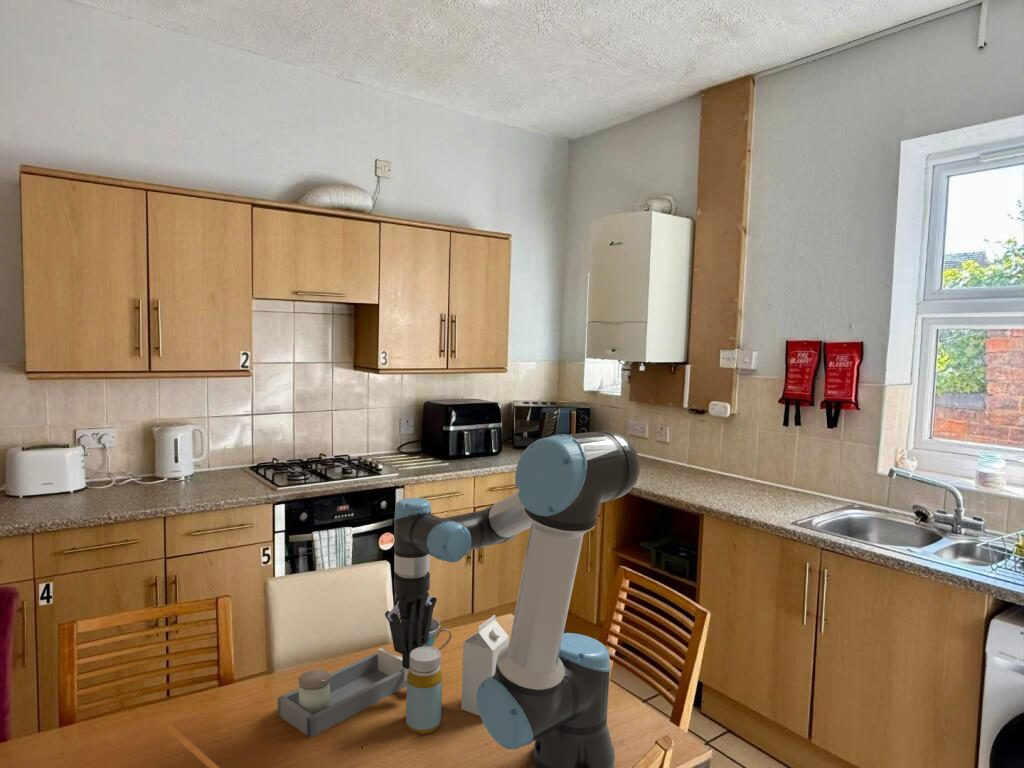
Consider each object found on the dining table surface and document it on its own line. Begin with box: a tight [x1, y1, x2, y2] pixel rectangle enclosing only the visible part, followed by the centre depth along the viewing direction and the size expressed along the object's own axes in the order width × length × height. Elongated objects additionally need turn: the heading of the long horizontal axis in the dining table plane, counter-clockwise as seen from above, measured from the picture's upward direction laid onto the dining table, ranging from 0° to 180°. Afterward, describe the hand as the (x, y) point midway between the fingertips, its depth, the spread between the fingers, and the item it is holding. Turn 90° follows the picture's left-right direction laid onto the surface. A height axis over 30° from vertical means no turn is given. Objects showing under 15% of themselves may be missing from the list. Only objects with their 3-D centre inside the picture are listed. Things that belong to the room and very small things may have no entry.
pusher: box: [377, 647, 404, 676], centre depth 144 cm, size 15×3×5 cm, turn 52°
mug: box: [422, 617, 452, 651], centre depth 152 cm, size 12×9×11 cm
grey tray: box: [277, 652, 407, 739], centre depth 136 cm, size 11×25×4 cm, turn 142°
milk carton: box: [461, 614, 509, 717], centre depth 136 cm, size 7×7×19 cm
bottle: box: [405, 646, 443, 735], centre depth 129 cm, size 7×7×15 cm
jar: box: [297, 669, 331, 715], centre depth 130 cm, size 6×6×8 cm
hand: (410, 680), depth 137 cm, fingers closed
